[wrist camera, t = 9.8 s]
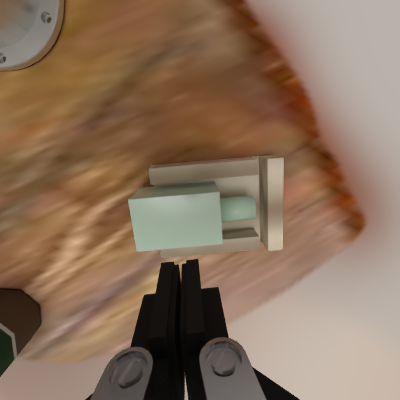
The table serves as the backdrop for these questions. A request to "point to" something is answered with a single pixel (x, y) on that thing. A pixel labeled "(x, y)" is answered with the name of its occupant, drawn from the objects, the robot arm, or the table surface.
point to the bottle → (184, 215)
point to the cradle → (233, 187)
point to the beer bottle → (16, 324)
